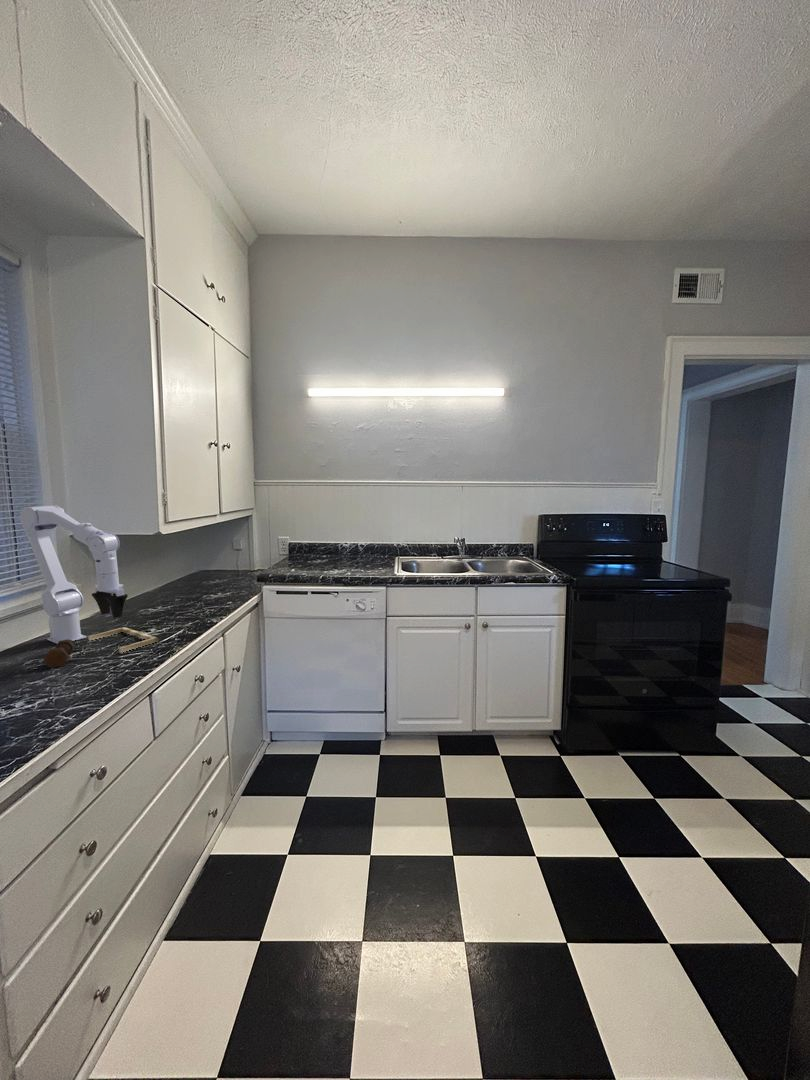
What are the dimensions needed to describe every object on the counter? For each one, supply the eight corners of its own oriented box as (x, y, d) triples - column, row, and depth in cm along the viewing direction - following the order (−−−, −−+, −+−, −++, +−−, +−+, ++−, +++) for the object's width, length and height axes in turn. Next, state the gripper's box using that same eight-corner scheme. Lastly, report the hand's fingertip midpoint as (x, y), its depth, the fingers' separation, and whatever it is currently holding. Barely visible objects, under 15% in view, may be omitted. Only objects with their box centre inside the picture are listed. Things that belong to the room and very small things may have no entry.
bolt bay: (88, 640, 153) (87, 636, 153) (124, 631, 162) (124, 626, 162) (121, 653, 141) (120, 648, 141) (158, 642, 150) (157, 637, 150)
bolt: (72, 655, 146) (60, 671, 132) (54, 649, 144) (40, 665, 130) (81, 637, 147) (70, 652, 133) (64, 632, 145) (51, 645, 131)
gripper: (132, 572, 146) (136, 615, 148) (109, 568, 154) (113, 609, 156) (108, 577, 140) (112, 621, 142) (85, 572, 148) (90, 614, 150)
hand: (111, 615), depth 148 cm, fingers open, 7 cm apart
